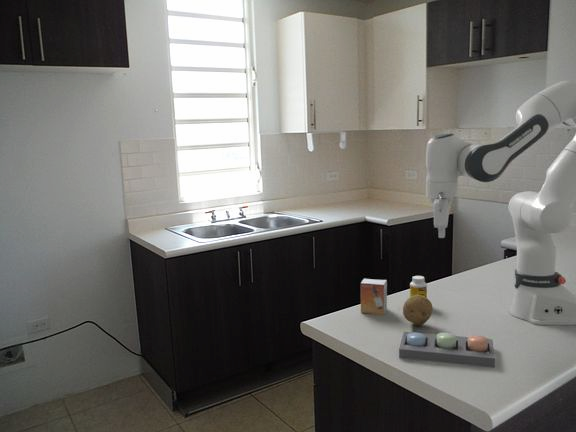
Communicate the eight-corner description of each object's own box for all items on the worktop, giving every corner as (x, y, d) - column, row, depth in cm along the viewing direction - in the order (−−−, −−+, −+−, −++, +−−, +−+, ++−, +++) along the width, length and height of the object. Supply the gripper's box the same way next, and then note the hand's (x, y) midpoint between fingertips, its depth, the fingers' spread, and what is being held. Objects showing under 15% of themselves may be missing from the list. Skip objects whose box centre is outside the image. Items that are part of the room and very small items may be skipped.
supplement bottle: (418, 310, 170) (418, 280, 168) (406, 305, 175) (406, 277, 173) (430, 306, 173) (430, 277, 171) (417, 301, 178) (417, 273, 176)
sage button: (456, 343, 139) (456, 333, 139) (455, 351, 135) (456, 340, 134) (437, 342, 141) (437, 331, 140) (436, 349, 136) (436, 339, 136)
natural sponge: (427, 333, 151) (428, 302, 149) (398, 329, 155) (398, 298, 153) (435, 323, 158) (435, 292, 157) (407, 318, 163) (407, 289, 161)
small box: (360, 312, 170) (359, 282, 168) (364, 307, 175) (363, 278, 173) (384, 315, 167) (384, 284, 165) (387, 309, 172) (387, 279, 170)
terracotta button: (487, 346, 137) (487, 336, 136) (488, 354, 132) (488, 343, 131) (467, 344, 138) (467, 334, 138) (467, 352, 134) (468, 342, 133)
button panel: (492, 347, 140) (492, 339, 139) (494, 367, 129) (495, 358, 128) (403, 339, 147) (403, 331, 147) (399, 357, 136) (399, 349, 136)
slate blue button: (426, 343, 142) (426, 333, 141) (424, 351, 137) (424, 340, 137) (407, 341, 144) (407, 331, 143) (406, 349, 139) (406, 339, 138)
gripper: (452, 195, 136) (452, 245, 139) (453, 185, 155) (453, 229, 158) (428, 195, 138) (428, 244, 141) (432, 186, 157) (432, 229, 160)
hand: (441, 236), depth 149 cm, fingers closed
